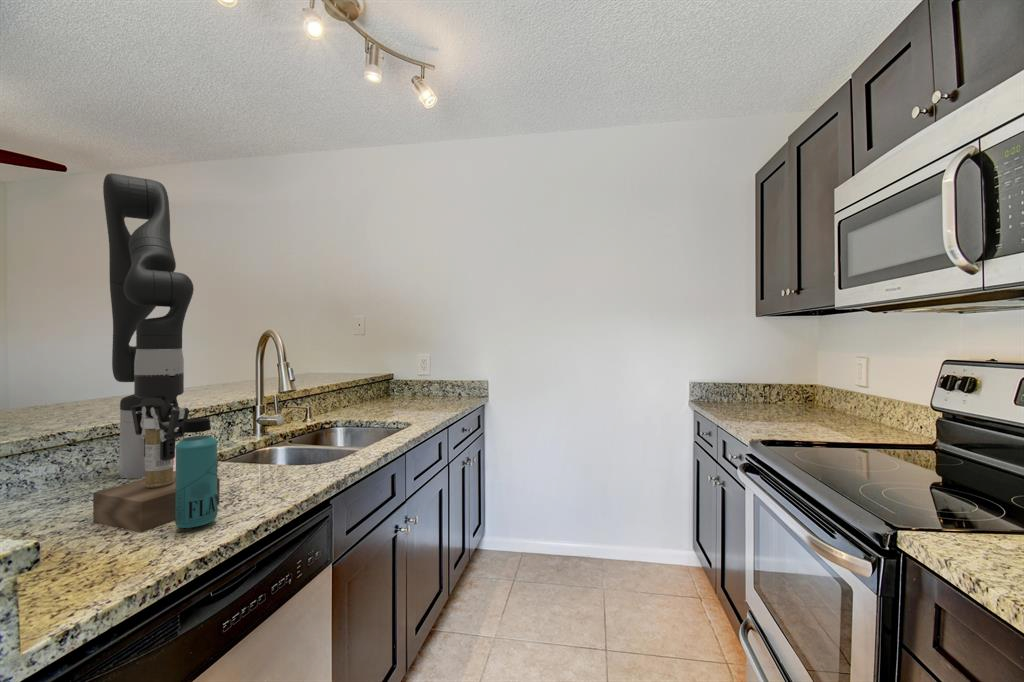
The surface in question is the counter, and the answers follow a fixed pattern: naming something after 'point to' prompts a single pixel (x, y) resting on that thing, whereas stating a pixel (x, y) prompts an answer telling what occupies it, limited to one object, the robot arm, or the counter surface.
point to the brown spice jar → (156, 458)
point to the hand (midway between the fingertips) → (159, 457)
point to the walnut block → (137, 505)
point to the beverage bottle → (196, 476)
